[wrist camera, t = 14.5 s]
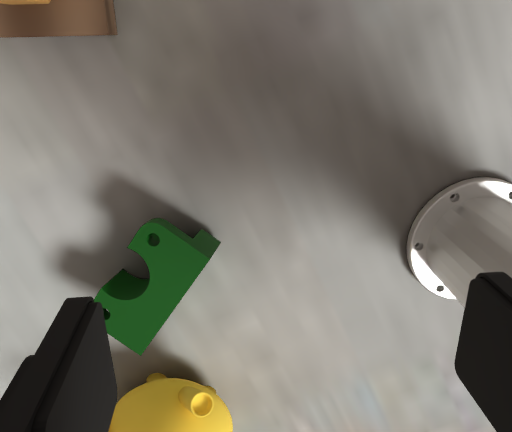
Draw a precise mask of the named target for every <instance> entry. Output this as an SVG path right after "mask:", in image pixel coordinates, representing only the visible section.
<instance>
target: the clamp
mask: <svg viewBox="0 0 512 432" xmlns="http://www.w3.org/2000/svg"><path fill="white" fill-rule="evenodd" d="M220 243H221V242H220V241H219V240H217V239H216V238H214V237H213V236H211V235H210V234H209V233H207V232H206V231H204V230H203V229H201V230H200V231H199V232H198V234H197V235H196V236H195V237H194V238H193V239H192V238H191V237H190V236H188V235H187V234H185V233H184V232H182V231H181V230H179V229H178V228H177V227H175V226H174V225H172V224H171V223H169V222H168V221H166V220H164V219H161V218H154V219H151V220H150V221H148V222H147V223H145V224H144V225H143V226H142V227H141V228H140V229H139V230H138V232H137V233H136V235H135V237H134V238H133V240H132V241H131V243H130V244H129V246H128V247H127V248H129V249H131V250H133V251H135V252H137V253H138V254H139V255H140V256H141V257H142V258H143V259H144V260H145V262H146V264H147V266H148V268H149V273H150V279H140V278H136V277H134V276H132V275H130V274H129V273H128V272H127V271H125V270H124V269H122V270H121V271H120V272H119V273H118V274H117V275H115V276H114V277H113V278H112V279H111V280H110V281H109V282H108V283H106V284H105V285H104V286H103V287H102V288H101V289H100V291H99V293H98V294H97V296H96V297H95V299H94V302H100V303H101V304H102V308H103V313H104V319H105V324H106V330H107V333H108V334H109V335H111V336H112V337H114V338H115V339H117V340H118V341H120V342H121V343H123V344H124V345H125V346H127V347H128V348H130V349H131V350H133V351H134V352H136V353H137V354H139V355H140V356H141V355H142V353H143V352H144V350H145V349H146V348H147V346H148V345H149V344H150V342H151V341H152V339H153V338H154V337H155V335H156V334H157V332H158V331H159V330H160V328H161V327H162V325H163V324H164V323H165V321H166V320H167V318H168V317H169V316H170V314H171V313H172V311H173V310H174V309H175V307H176V306H177V304H178V303H179V302H180V300H181V299H182V297H183V296H184V295H185V293H186V292H187V291H188V289H189V288H190V286H191V285H192V284H193V282H194V281H195V279H196V278H197V277H198V275H199V274H200V272H201V271H202V270H203V268H204V267H205V265H206V264H207V263H208V261H209V260H210V258H211V257H212V255H213V254H214V252H215V251H216V249H217V247H218V246H219V244H220ZM106 309H107V310H108V311H109V312H108V311H107V310H106Z"/></svg>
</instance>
